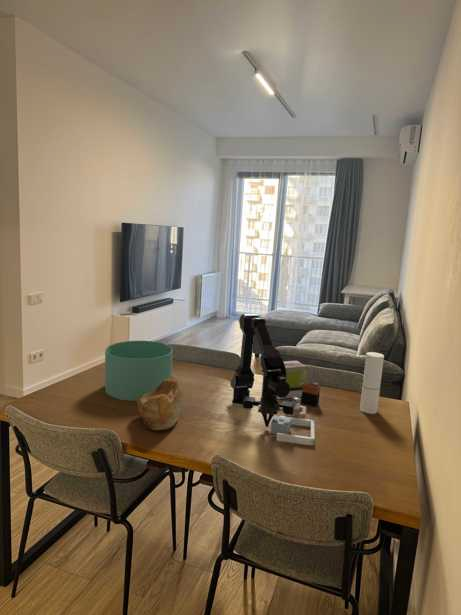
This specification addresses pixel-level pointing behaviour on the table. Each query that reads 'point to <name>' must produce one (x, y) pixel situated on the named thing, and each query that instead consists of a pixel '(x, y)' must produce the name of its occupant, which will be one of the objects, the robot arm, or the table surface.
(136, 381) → the container
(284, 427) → the block
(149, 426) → the rough brown rock
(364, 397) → the cylindrical container
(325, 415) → the table surface
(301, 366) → the tea box
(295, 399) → the cylinder
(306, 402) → the battery
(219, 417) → the table surface
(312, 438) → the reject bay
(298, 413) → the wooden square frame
